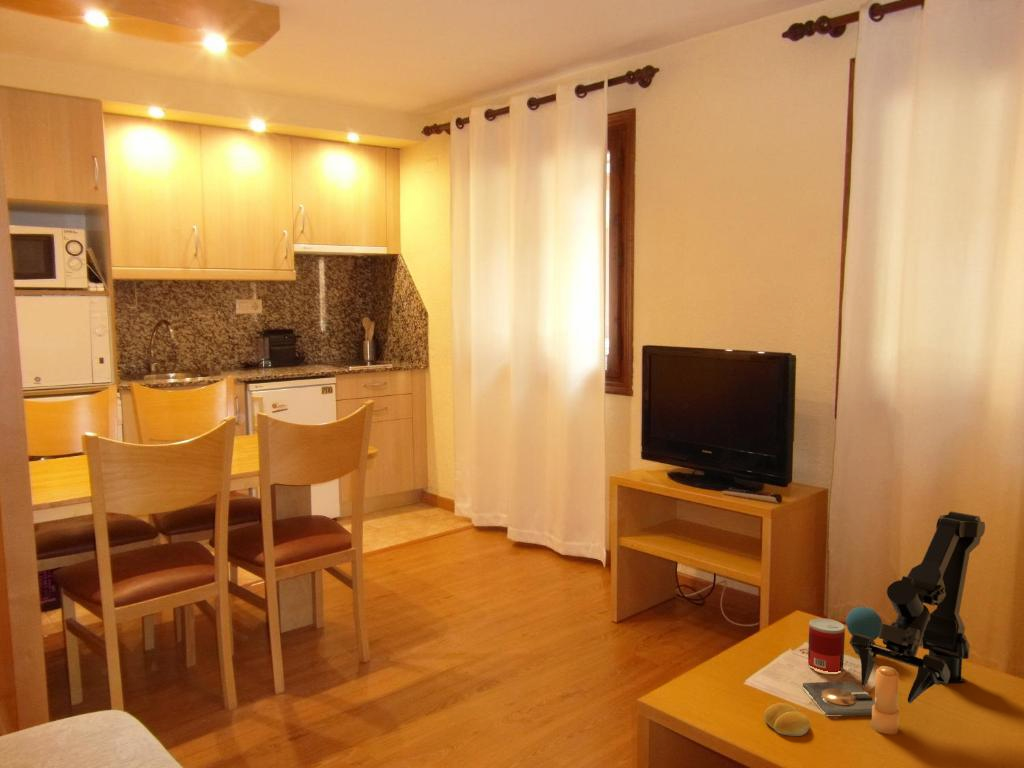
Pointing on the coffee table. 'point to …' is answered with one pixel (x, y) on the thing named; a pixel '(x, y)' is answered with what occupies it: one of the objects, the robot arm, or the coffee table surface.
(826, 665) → the canned food
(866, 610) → the light bulb
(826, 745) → the coffee table surface
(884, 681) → the tapered peach knob
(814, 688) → the plate
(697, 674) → the coffee table surface
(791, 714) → the bread roll
